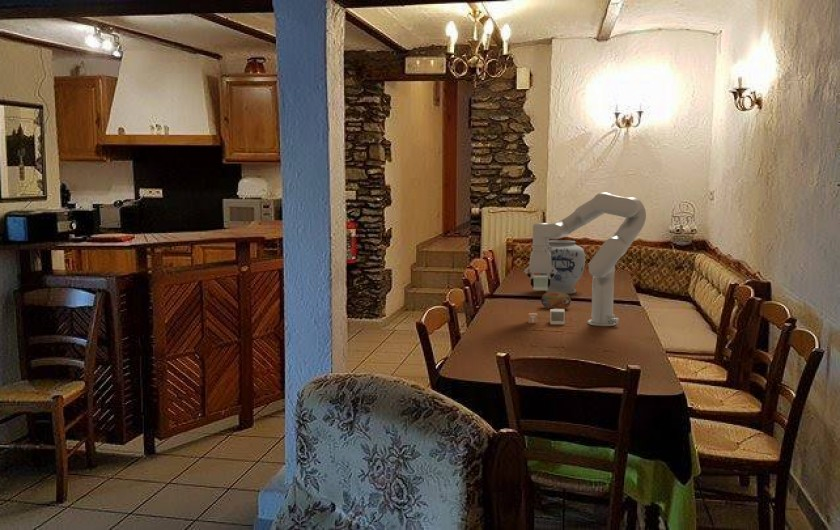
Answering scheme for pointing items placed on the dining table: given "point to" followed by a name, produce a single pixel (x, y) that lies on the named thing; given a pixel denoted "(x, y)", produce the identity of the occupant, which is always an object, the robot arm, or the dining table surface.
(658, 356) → the dining table surface
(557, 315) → the cream cube
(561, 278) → the apothecary jar
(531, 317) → the letter block
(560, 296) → the tin
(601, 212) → the robot arm
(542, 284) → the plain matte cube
